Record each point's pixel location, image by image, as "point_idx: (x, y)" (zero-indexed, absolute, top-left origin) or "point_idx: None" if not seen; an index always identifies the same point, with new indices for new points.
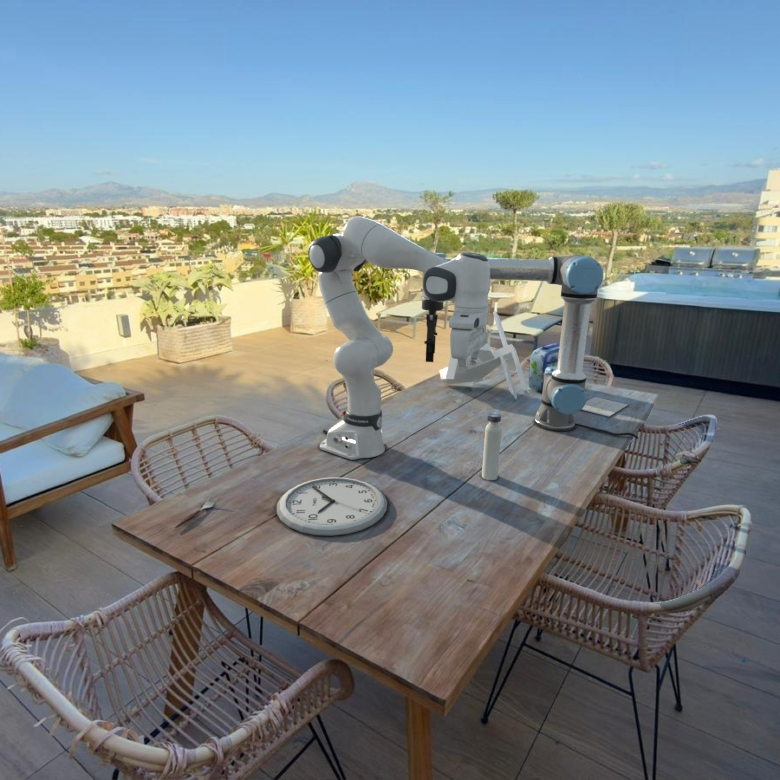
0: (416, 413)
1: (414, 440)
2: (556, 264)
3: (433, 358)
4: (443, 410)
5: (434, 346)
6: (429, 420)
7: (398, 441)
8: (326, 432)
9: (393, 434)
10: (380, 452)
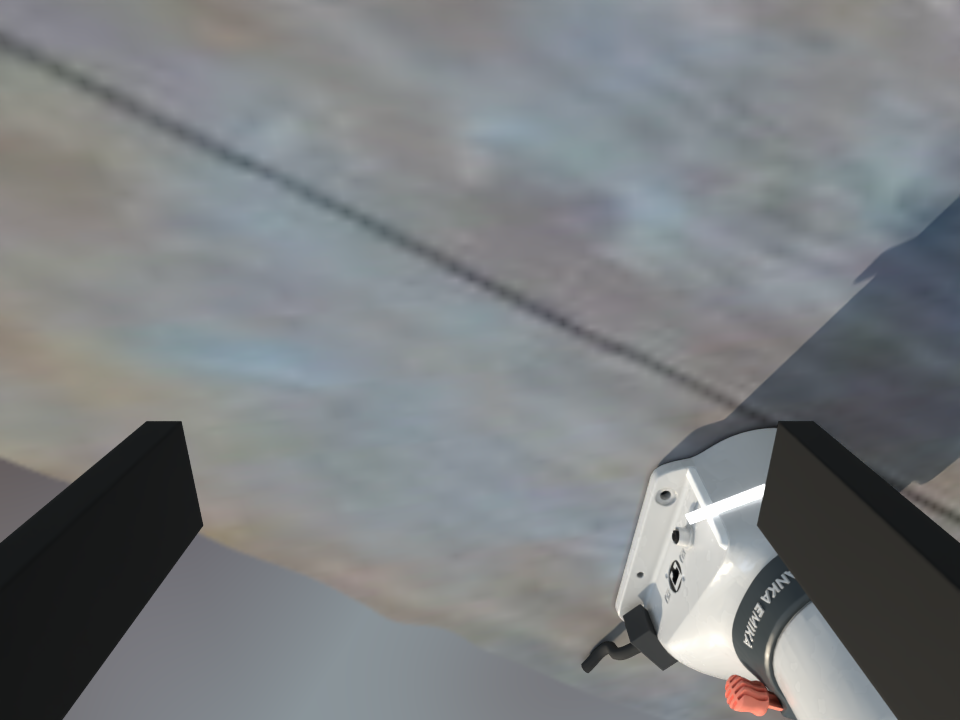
0: (245, 326)
1: (642, 308)
2: None
3: (831, 450)
4: (135, 166)
5: (109, 500)
6: (339, 247)
7: (659, 381)
8: (602, 657)
9: (573, 411)
10: None
